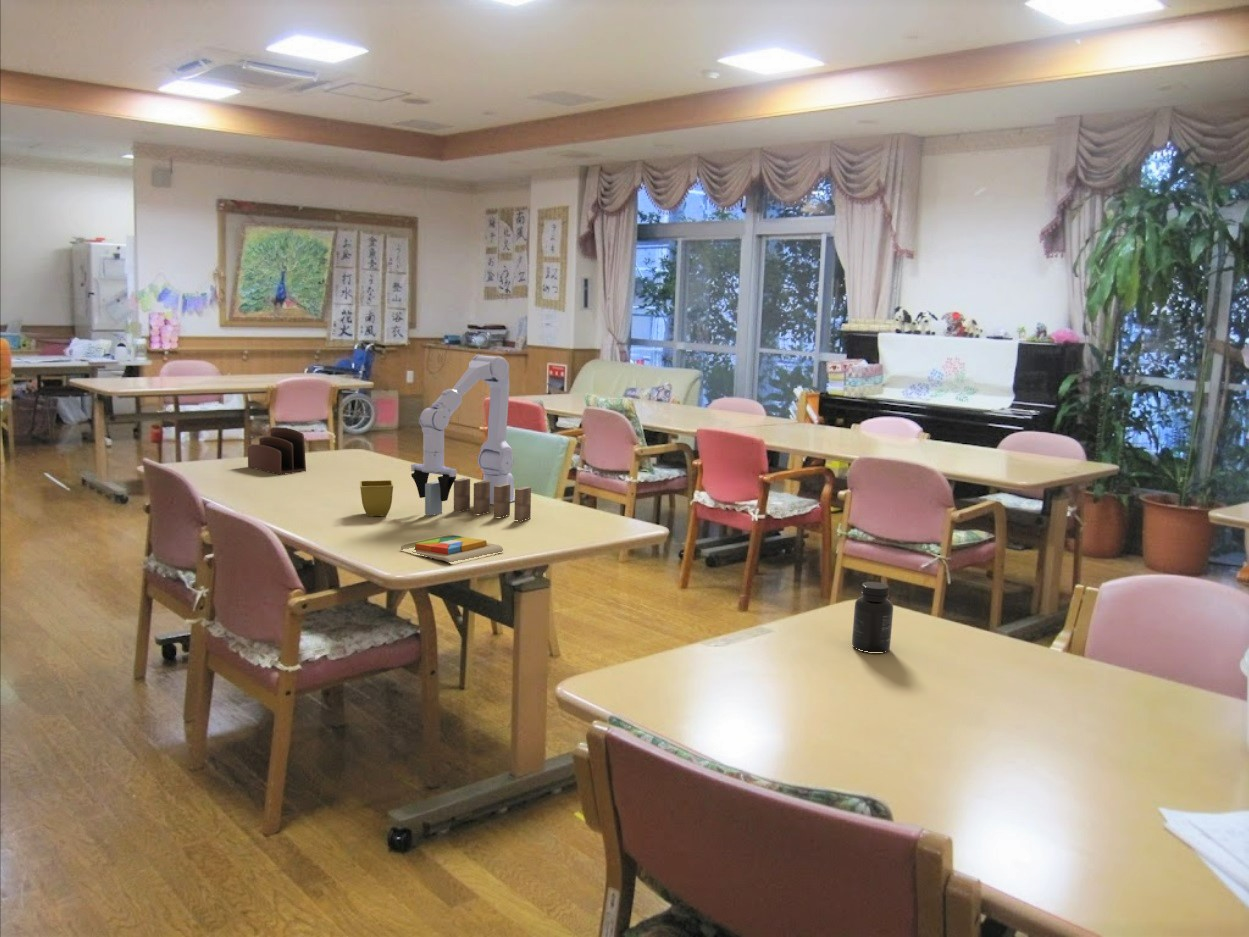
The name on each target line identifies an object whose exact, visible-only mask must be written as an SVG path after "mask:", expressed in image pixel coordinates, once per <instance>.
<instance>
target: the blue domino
mask: <svg viewBox="0 0 1249 937" xmlns="http://www.w3.org/2000/svg"><path fill="white" fill-rule="evenodd" d="M438 513H441V514H443V501H441V498H440V485H439V481H437V480H436V481H431V482H427V483H426V484H425V497H424V515H425V514H426V515H434V514H437V515H439V514H438ZM426 515H425V516H426ZM434 516H435V515H434Z"/></svg>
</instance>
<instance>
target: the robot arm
mask: <svg viewBox="0 0 1249 937" xmlns="http://www.w3.org/2000/svg"><path fill="white" fill-rule="evenodd" d="M478 381H484V382H485V383H486V384H487V385H488V387H489V388H490V394H489V408H488V409H489V410H488V411H489V412H488V424H487V440H486V441H484V442H483V443H482V444H481V446H480V452H479V454H478V458H477V465H478V467H479V468H480V469H481V473H482V474H483V480H482V481H489V482H490V505H492V506H494V486H497V485H501V484H510V503H511V502H515V479H514V476H513V474H512V473H511V470H512V469H513V467H514V456H513V448H512V447H511V446H510V445H509V443H507V430H508V429H507V426H508V415H509V414H508V412H509V398H510V364H509V362H508V361H507V360H506V359H505V357H502V356H493V355H491V356H489V355H482V354H476V355H475V356H473V358H472V360H470V361H469V362H468V368H467V369H466V371H465V372H464V373H463V374H462V376H460V379H459V380H458V381H457V382H456V384H455V385H454V386H453V387H452V388H447V389H446V390H445V389H444V390H442V392H441V395H440V396H439V397H438V398H437V399H436V400H435V401H434V402H433V403H432V404H431V406H430V407H426V408H425V409H423V411H422V412H421V413H420V415H419V417H418V423H419V425H420V426H421V432H422V435H423V441H422V442H423V443H422V447H423V449H422V450H423V452H422V453H423V455H422V457H423V458H422V459H423V460H422V461H423V463H411V464H410V471H411V472H413V473H411V474H410V475H411V478H412V479H413V481H414V483H415V486H416V488H417V492H418V496H419V499H422V498H423V499H424V498H425V484H426V483H428V481H429V477H430V474H432V475H433V474H434V475H440V476H437V480H438V481H439V485H440V498H441V501H442V502H447V501H448V499H449V494H450V492H451V489H452V487H453V485H454V481H455V480H457V469H456V468H451V467H448V466H445V429H446V428H448V425H449V423H450V419H451V417H452V415H453V413H454V412H455V411H457V409H458V408H459V407H460V406H461V405H462V403H463V396H464V395H465V394H467V392H469V391H470V389H471V388H473V387H474V386H475V385H476V384H477V383H478Z"/></svg>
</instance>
